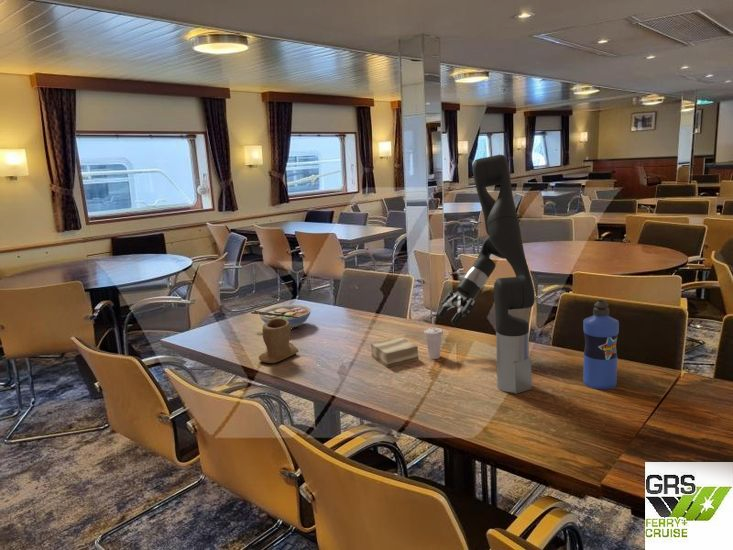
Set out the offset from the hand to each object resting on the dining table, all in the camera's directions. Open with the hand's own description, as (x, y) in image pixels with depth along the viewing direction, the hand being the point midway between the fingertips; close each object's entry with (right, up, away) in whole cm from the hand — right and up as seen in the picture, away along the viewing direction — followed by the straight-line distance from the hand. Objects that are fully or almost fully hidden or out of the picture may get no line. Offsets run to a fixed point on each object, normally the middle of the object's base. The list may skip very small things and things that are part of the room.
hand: (446, 320), depth 187 cm
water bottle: (+41, -16, -29) cm, 53 cm away
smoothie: (-4, -13, 0) cm, 14 cm away
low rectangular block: (-18, -14, +2) cm, 22 cm away
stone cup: (-59, -15, +10) cm, 62 cm away
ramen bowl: (-62, -7, +47) cm, 78 cm away
